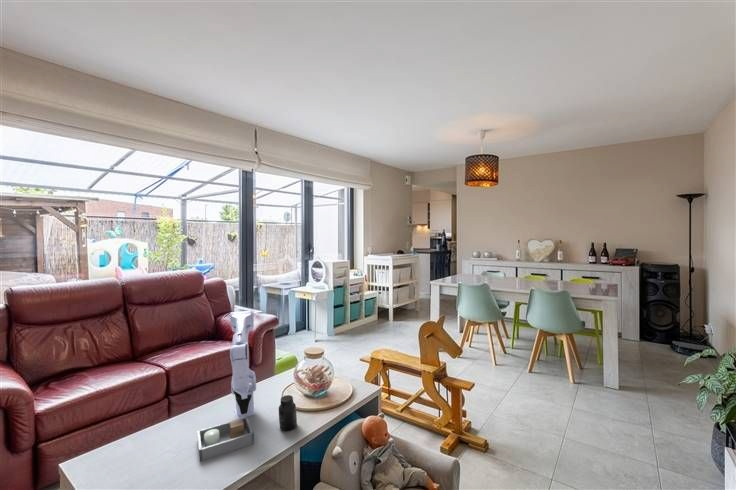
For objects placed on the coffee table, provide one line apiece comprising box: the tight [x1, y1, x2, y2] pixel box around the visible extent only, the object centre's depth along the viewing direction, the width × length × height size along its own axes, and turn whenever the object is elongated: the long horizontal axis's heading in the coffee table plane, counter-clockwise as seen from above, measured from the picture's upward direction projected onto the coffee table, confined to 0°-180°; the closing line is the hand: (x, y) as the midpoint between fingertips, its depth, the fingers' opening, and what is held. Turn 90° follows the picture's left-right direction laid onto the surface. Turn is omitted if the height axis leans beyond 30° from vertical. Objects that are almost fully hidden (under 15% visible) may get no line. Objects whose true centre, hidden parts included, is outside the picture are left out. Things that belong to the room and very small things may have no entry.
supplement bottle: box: [278, 394, 298, 432], centre depth 136 cm, size 7×7×12 cm
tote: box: [196, 416, 255, 462], centre depth 127 cm, size 13×18×4 cm
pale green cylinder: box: [204, 429, 220, 447], centre depth 124 cm, size 5×5×5 cm
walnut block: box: [228, 419, 244, 439], centre depth 129 cm, size 4×4×6 cm
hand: (242, 408), depth 133 cm, fingers open, 7 cm apart
